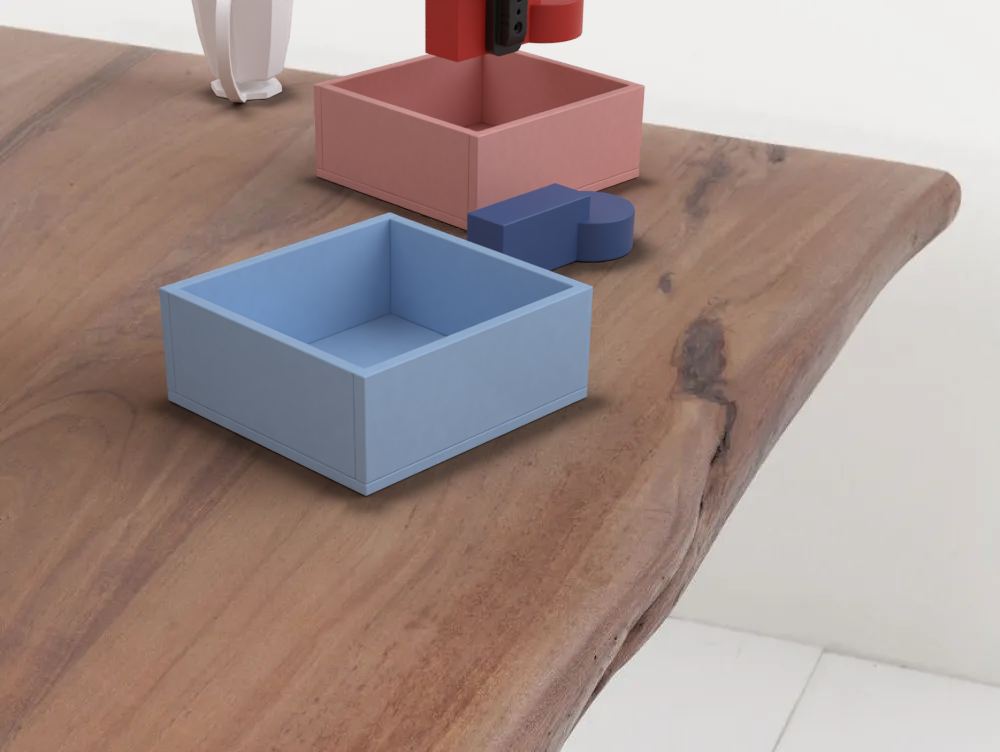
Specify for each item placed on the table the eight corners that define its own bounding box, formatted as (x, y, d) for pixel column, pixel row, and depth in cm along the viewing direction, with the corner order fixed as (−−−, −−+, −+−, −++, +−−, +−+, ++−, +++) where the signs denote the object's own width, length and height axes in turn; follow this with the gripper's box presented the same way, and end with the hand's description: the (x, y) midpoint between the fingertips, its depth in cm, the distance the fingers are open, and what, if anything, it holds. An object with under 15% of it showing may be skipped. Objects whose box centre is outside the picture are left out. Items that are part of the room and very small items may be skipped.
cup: (311, 76, 119) (307, -60, 115) (285, 124, 111) (279, -20, 106) (201, 70, 120) (192, -65, 115) (168, 119, 111) (156, -26, 107)
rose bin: (315, 176, 104) (313, 83, 101) (480, 126, 112) (482, 39, 109) (475, 234, 97) (477, 136, 94) (639, 176, 105) (645, 85, 102)
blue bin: (167, 400, 80) (158, 287, 77) (390, 316, 88) (389, 211, 85) (365, 496, 73) (363, 377, 71) (587, 397, 81) (593, 286, 79)
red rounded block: (408, 48, 100) (408, -15, 98) (535, 15, 106) (537, -45, 104) (474, 67, 97) (474, 2, 95) (600, 32, 103) (603, -30, 101)
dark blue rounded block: (448, 270, 93) (448, 206, 91) (581, 221, 99) (584, 160, 97) (519, 296, 90) (521, 231, 89) (651, 245, 96) (656, 183, 95)
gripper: (332, -336, 92) (342, 33, 102) (544, -306, 84) (531, 89, 94) (440, -345, 96) (439, 9, 106) (650, -318, 89) (628, 61, 99)
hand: (483, 45), depth 100 cm, fingers closed on red rounded block, 2 cm apart
